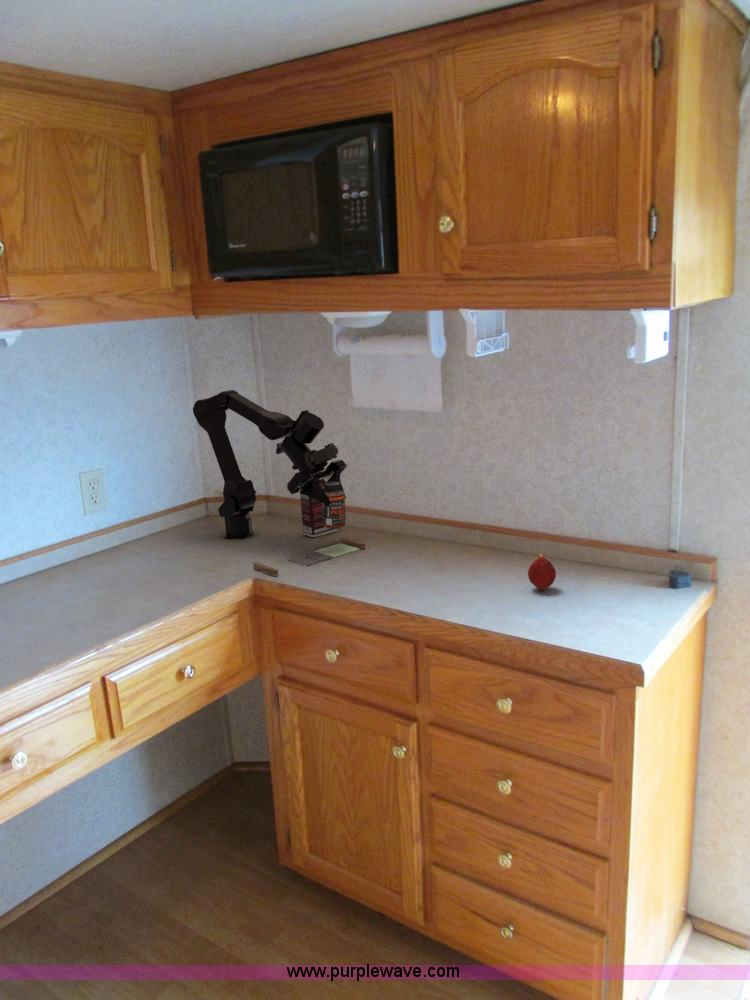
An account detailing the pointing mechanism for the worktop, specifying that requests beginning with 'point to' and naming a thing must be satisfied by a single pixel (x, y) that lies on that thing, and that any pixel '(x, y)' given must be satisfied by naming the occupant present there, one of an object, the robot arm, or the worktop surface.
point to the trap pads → (309, 558)
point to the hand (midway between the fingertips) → (337, 501)
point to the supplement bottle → (334, 506)
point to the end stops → (275, 571)
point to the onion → (541, 573)
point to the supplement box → (313, 515)
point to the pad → (337, 550)
